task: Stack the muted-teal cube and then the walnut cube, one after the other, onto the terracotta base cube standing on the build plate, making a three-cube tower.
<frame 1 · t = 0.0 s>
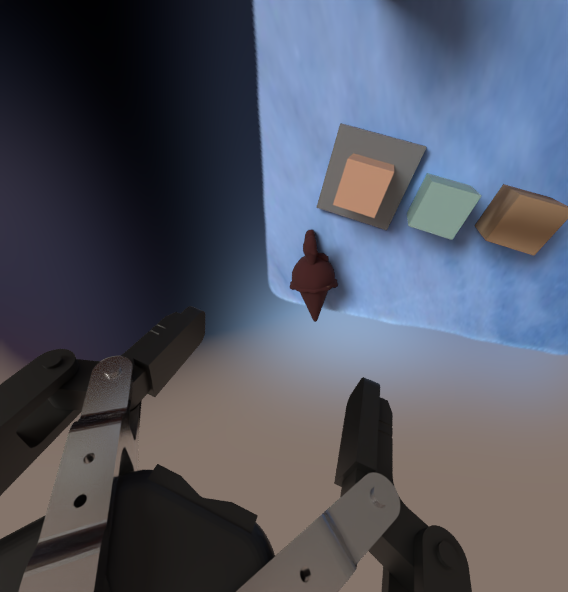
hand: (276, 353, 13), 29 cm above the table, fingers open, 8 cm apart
base brick: (365, 180, 33), point 1 cm above the table, touching build plate
walnut brick: (510, 212, 30), on the table
build plate: (365, 179, 33), on the table
teal brick: (436, 200, 32), on the table
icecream: (318, 269, 43), on the table
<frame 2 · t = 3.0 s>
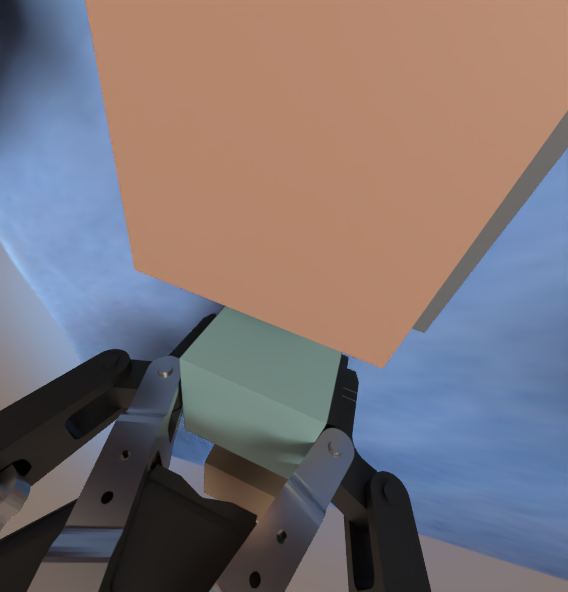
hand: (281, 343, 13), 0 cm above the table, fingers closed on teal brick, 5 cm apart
base brick: (337, 141, 7), point 1 cm above the table, touching build plate
walnut brick: (275, 417, 18), on the table
build plate: (342, 139, 8), on the table
teal brick: (285, 337, 13), on the table, touching gripper
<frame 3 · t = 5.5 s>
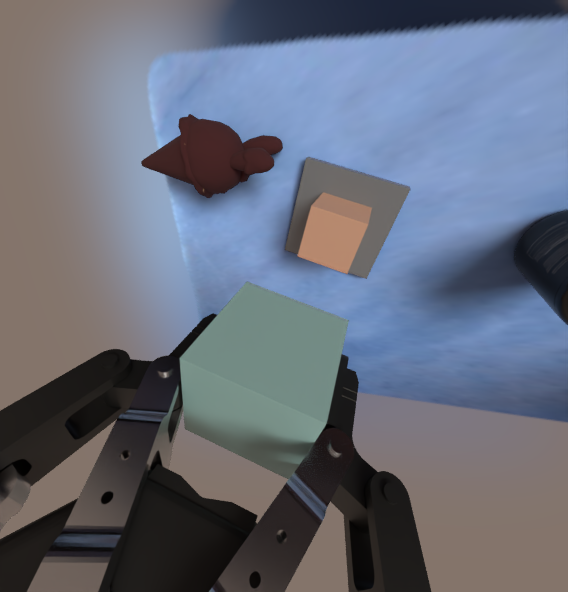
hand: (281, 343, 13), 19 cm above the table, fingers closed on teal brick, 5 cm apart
base brick: (338, 223, 27), point 1 cm above the table, touching build plate
build plate: (340, 220, 28), on the table
teal brick: (285, 337, 13), point 19 cm above the table, touching gripper
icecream: (224, 155, 28), on the table
supplement bottle: (560, 244, 23), on the table
when the fingers open (7 cm above the table, at t = 8.1 s): teal brick stays where it is, resting on base brick.
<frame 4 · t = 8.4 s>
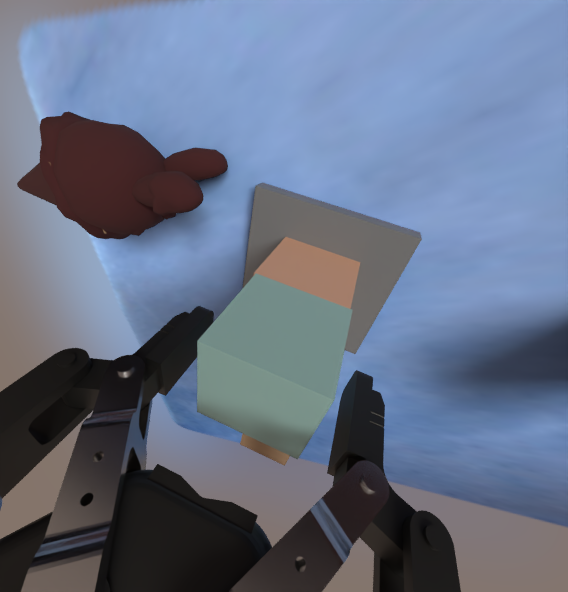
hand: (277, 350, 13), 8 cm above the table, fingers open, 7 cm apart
base brick: (311, 280, 18), point 1 cm above the table, touching build plate, teal brick
walnut brick: (282, 400, 29), on the table
build plate: (315, 274, 19), on the table
teal brick: (291, 326, 14), point 6 cm above the table, touching base brick
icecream: (149, 173, 19), on the table
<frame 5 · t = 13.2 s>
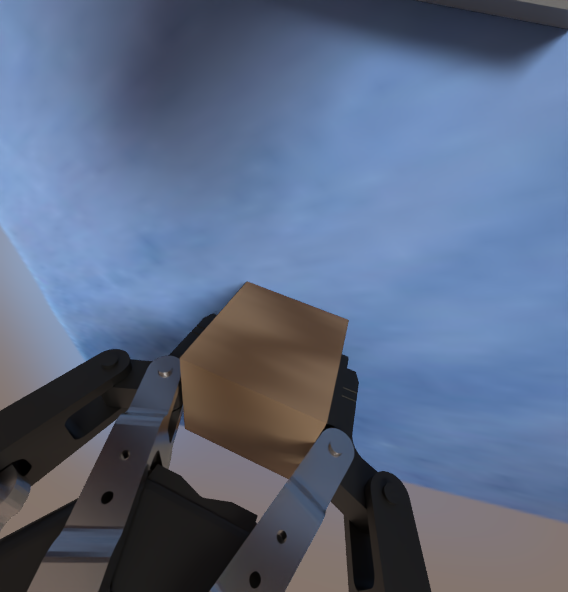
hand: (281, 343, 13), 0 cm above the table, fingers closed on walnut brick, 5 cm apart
walnut brick: (285, 336, 13), on the table, touching gripper
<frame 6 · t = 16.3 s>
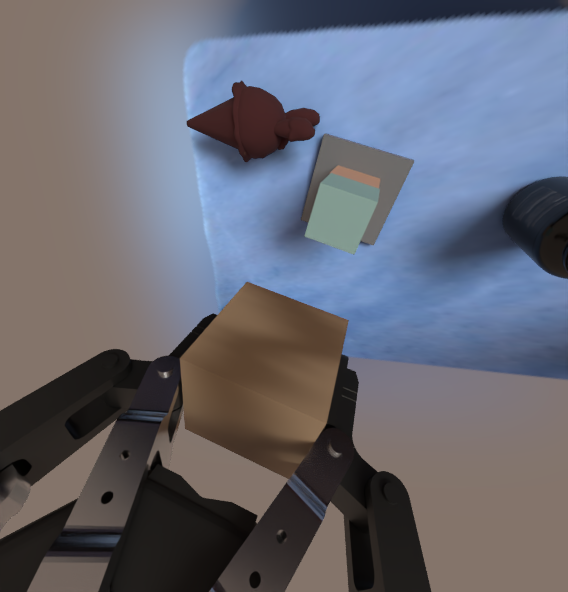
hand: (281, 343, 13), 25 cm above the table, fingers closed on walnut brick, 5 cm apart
base brick: (350, 194, 31), point 1 cm above the table, touching build plate, teal brick
walnut brick: (285, 336, 13), point 25 cm above the table, touching gripper
build plate: (351, 192, 32), on the table
teal brick: (345, 205, 27), point 6 cm above the table, touching base brick
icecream: (262, 124, 31), on the table
supplement bottle: (541, 210, 27), on the table
when the fingers open (12 cm above the table, at t = 19.4 s): walnut brick stays where it is, resting on teal brick.
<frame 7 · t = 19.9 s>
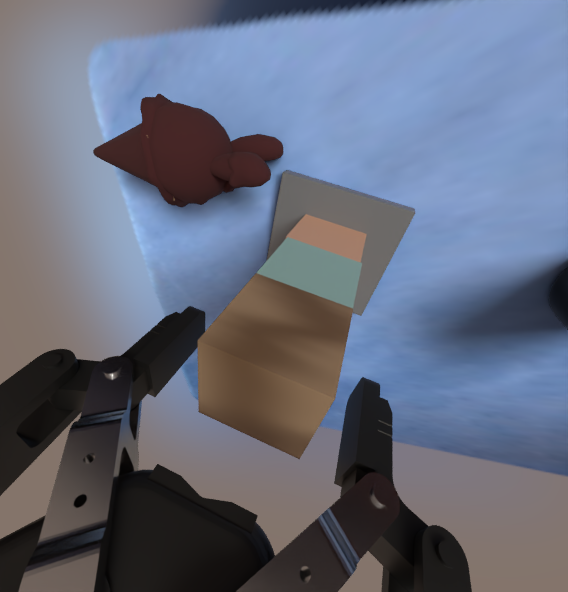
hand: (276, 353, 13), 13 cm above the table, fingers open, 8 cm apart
base brick: (326, 251, 22), point 1 cm above the table, touching build plate, teal brick
walnut brick: (292, 326, 14), point 11 cm above the table, touching teal brick
build plate: (328, 247, 23), on the table
teal brick: (313, 281, 18), point 6 cm above the table, touching base brick, walnut brick
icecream: (207, 152, 22), on the table
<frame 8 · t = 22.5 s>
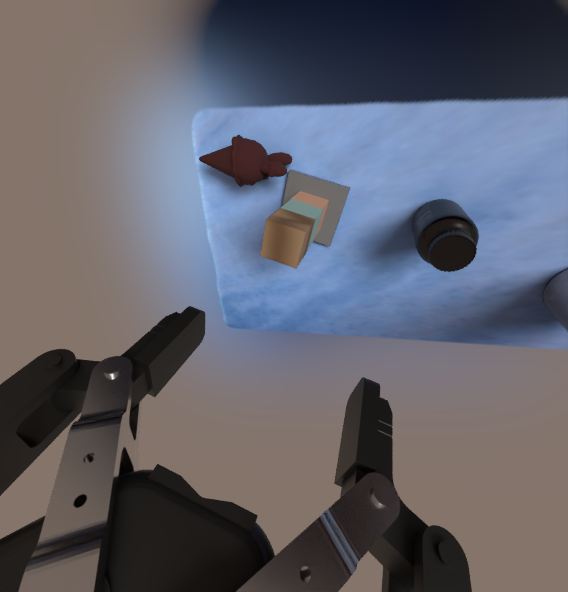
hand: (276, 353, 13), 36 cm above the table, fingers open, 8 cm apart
base brick: (310, 210, 44), point 1 cm above the table, touching build plate, teal brick
walnut brick: (293, 230, 36), point 11 cm above the table, touching teal brick
build plate: (311, 208, 45), on the table
teal brick: (303, 219, 40), point 6 cm above the table, touching base brick, walnut brick
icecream: (253, 159, 44), on the table
supplement bottle: (436, 220, 40), on the table
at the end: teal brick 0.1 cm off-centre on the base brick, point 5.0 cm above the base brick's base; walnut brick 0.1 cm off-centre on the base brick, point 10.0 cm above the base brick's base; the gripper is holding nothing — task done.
